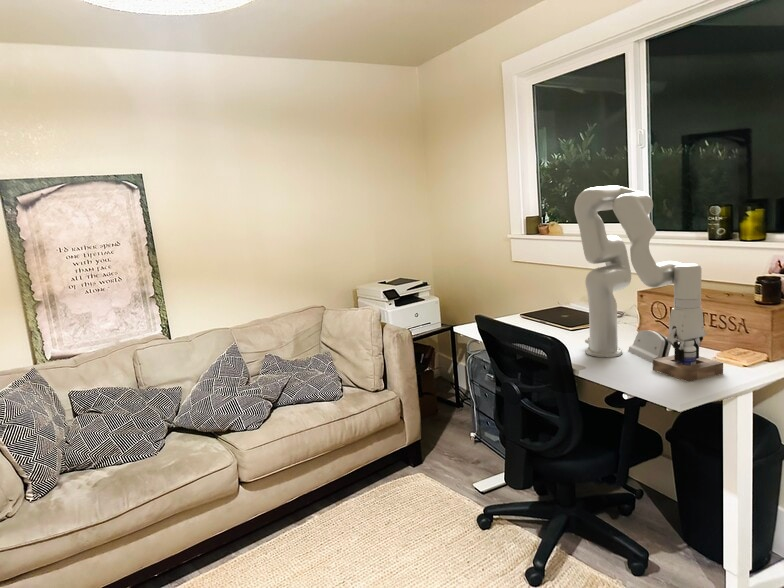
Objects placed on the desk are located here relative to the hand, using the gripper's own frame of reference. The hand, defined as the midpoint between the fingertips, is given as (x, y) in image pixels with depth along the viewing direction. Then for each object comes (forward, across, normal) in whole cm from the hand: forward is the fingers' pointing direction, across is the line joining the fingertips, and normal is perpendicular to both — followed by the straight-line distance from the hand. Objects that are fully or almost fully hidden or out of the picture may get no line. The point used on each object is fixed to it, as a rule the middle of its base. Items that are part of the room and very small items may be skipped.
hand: (686, 358), depth 179 cm
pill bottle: (+3, 0, 0) cm, 3 cm away
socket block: (+4, 0, 0) cm, 4 cm away
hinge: (+5, -4, -19) cm, 20 cm away
